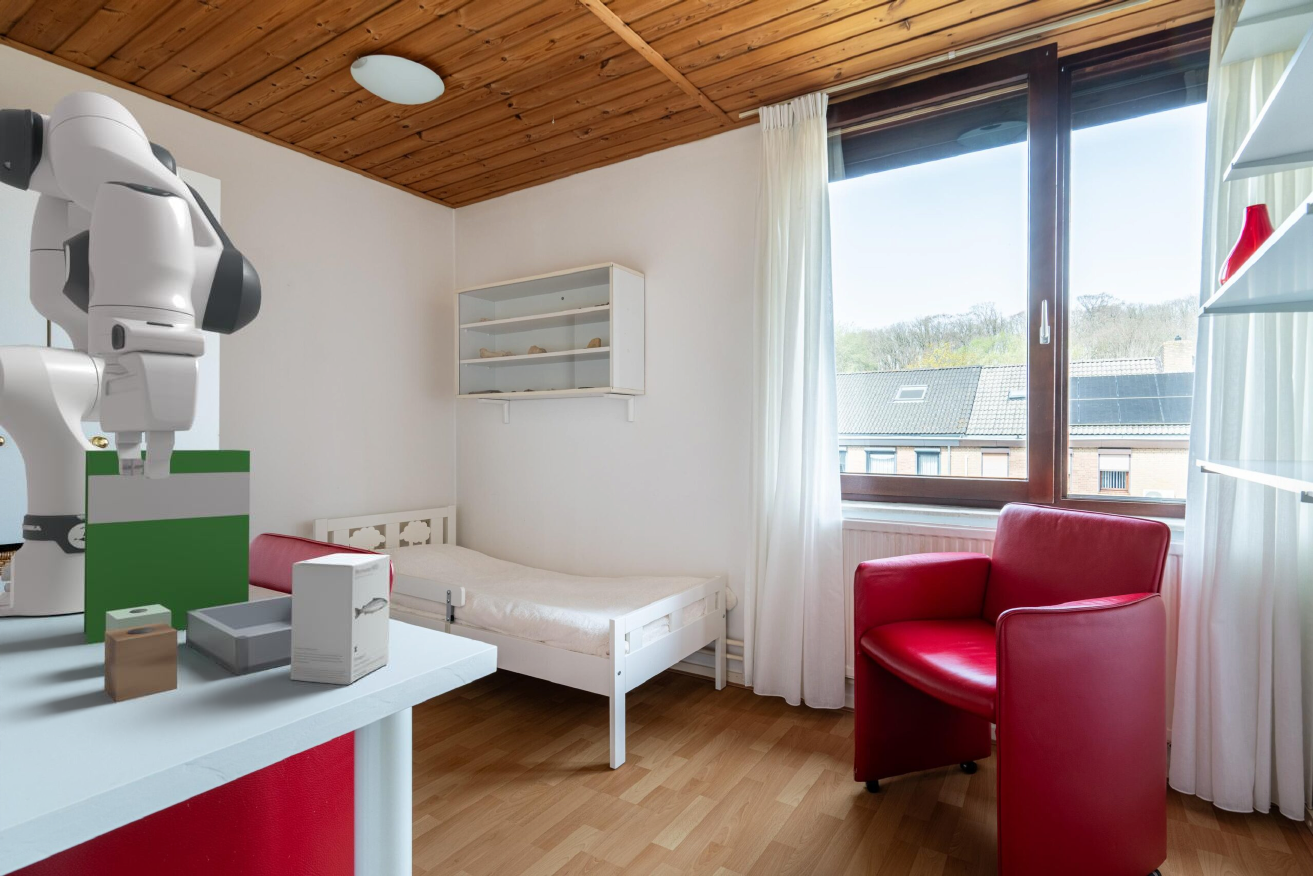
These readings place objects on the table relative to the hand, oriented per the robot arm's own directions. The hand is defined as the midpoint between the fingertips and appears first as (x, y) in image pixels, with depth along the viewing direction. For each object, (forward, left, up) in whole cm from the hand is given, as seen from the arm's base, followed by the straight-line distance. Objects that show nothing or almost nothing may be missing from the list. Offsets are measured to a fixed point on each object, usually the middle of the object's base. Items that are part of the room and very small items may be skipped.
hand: (143, 477), depth 71 cm
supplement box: (+10, +16, -22) cm, 29 cm away
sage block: (-10, +2, -22) cm, 24 cm away
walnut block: (0, 0, -22) cm, 22 cm away
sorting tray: (-6, +15, -22) cm, 27 cm away
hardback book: (-26, +9, -22) cm, 35 cm away
